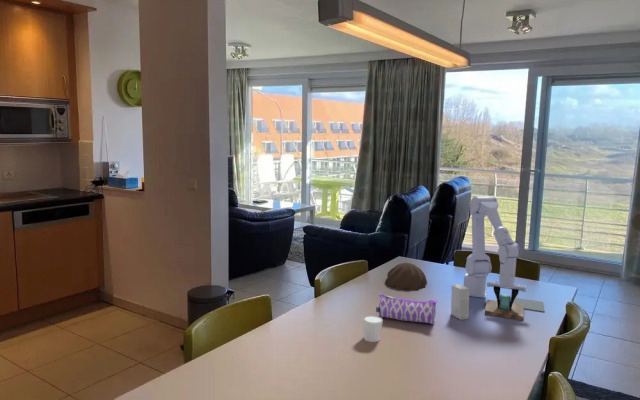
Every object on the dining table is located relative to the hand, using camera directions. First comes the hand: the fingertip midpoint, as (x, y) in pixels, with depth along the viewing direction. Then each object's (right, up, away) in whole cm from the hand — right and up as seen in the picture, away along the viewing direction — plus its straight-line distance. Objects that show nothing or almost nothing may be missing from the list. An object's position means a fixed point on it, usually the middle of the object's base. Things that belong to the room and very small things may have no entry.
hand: (504, 305), depth 190 cm
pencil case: (-41, -3, -10) cm, 43 cm away
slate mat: (+13, -1, +8) cm, 15 cm away
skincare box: (-20, -3, -6) cm, 21 cm away
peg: (0, -2, 0) cm, 2 cm away
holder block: (0, -2, 0) cm, 2 cm away
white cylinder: (-57, -5, -28) cm, 63 cm away
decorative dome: (-34, +3, +33) cm, 48 cm away
